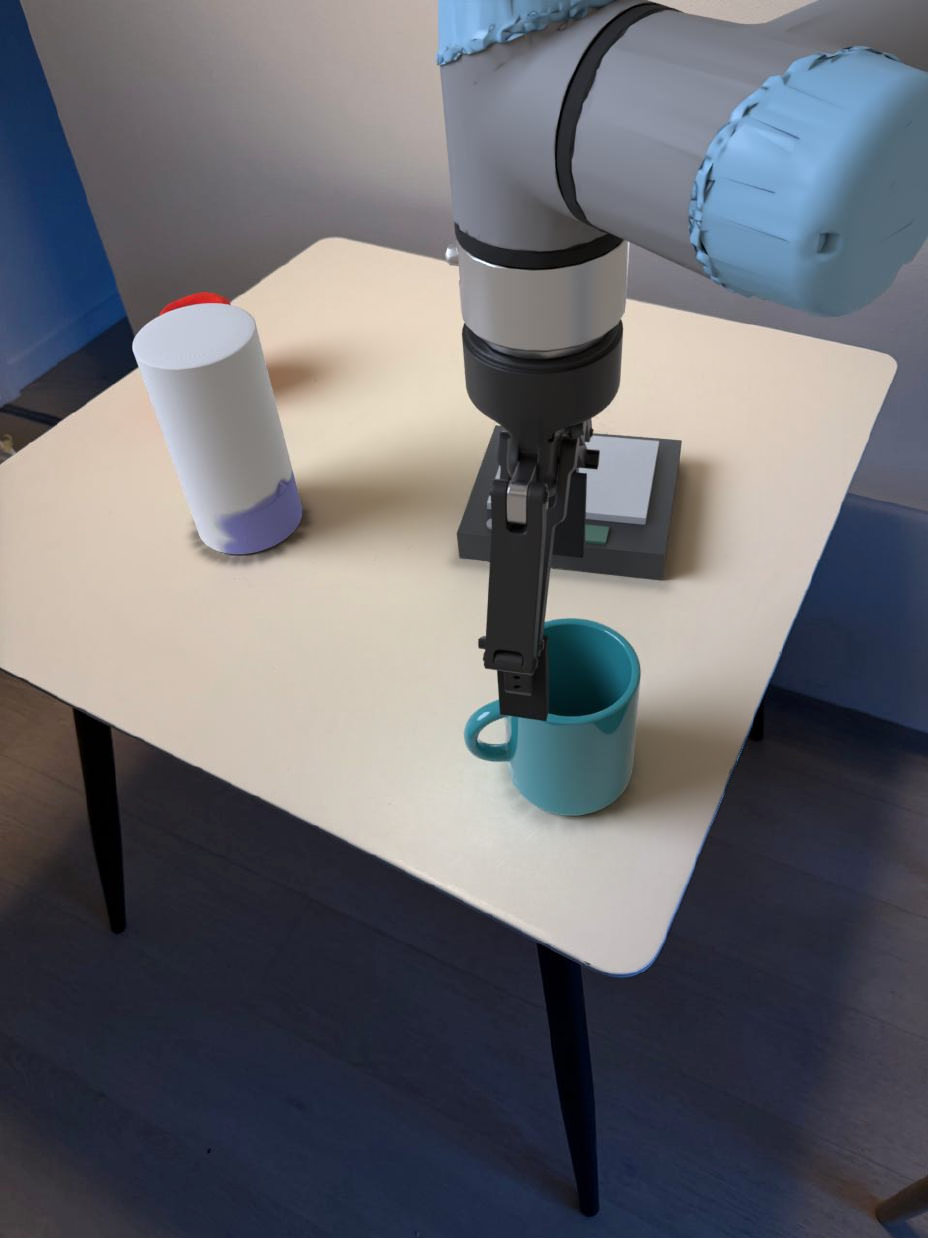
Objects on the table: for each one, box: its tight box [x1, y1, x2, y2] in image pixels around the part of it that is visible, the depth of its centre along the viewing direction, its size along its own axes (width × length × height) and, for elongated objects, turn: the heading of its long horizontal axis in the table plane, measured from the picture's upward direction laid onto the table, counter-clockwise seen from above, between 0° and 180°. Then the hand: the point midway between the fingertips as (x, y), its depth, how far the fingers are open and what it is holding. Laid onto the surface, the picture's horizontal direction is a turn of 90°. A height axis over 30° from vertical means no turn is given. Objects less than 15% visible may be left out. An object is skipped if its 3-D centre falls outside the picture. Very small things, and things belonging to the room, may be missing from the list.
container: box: [131, 303, 303, 555], centre depth 87 cm, size 10×10×20 cm
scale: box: [456, 424, 683, 581], centre depth 91 cm, size 18×16×4 cm
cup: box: [463, 617, 642, 817], centre depth 68 cm, size 9×12×11 cm
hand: (545, 627), depth 61 cm, fingers open, 13 cm apart
